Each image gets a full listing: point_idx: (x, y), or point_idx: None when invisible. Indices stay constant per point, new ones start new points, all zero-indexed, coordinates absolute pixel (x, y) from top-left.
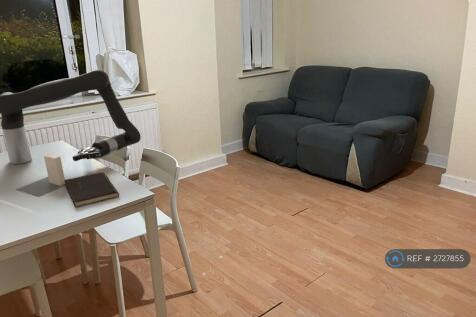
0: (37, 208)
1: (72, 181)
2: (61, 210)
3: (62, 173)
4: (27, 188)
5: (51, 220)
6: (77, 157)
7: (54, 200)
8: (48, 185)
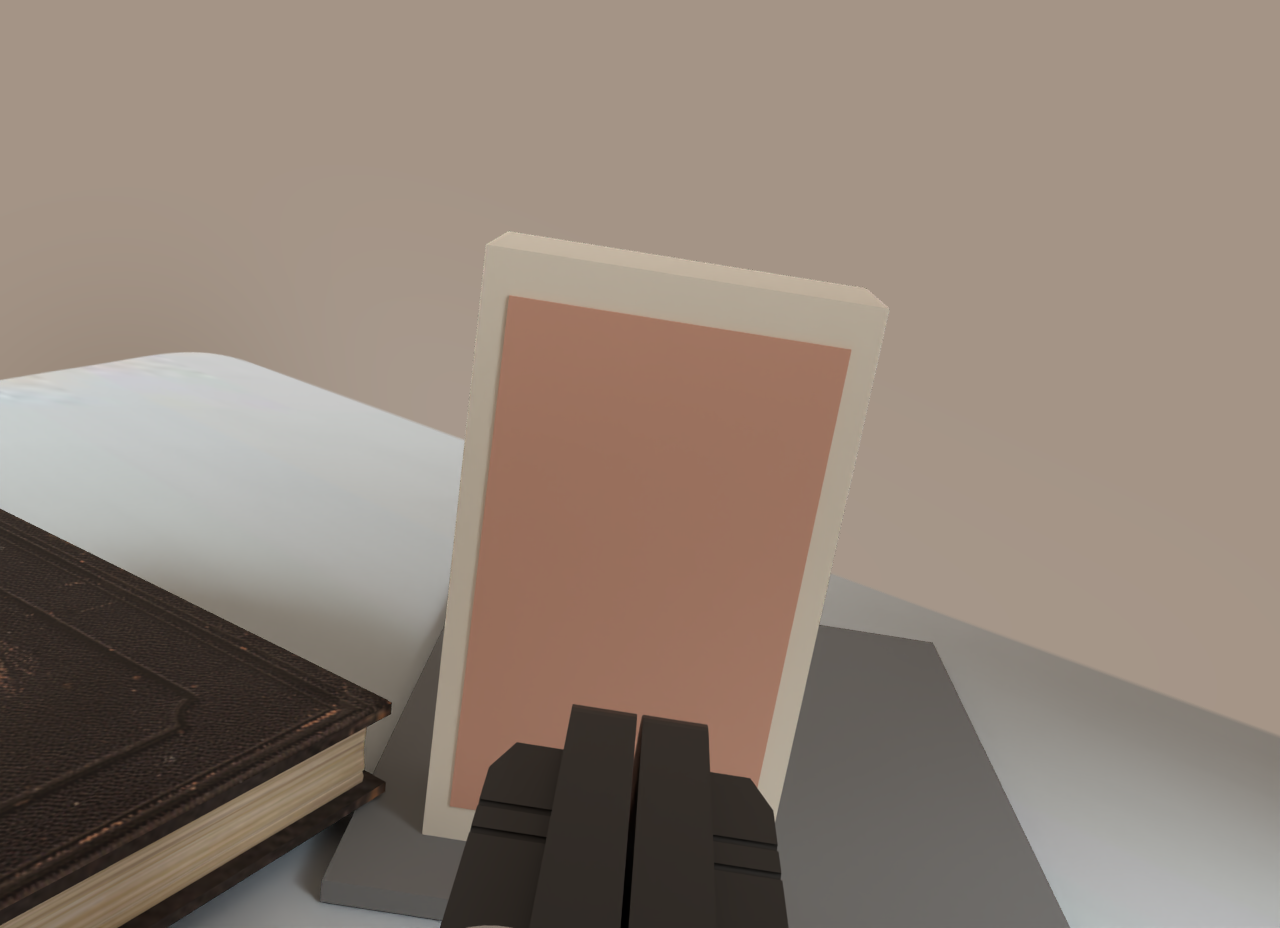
0: (303, 494)
1: (170, 683)
2: (4, 481)
3: (452, 615)
4: (836, 668)
5: (19, 419)
6: (500, 766)
7: (230, 570)
8: None
